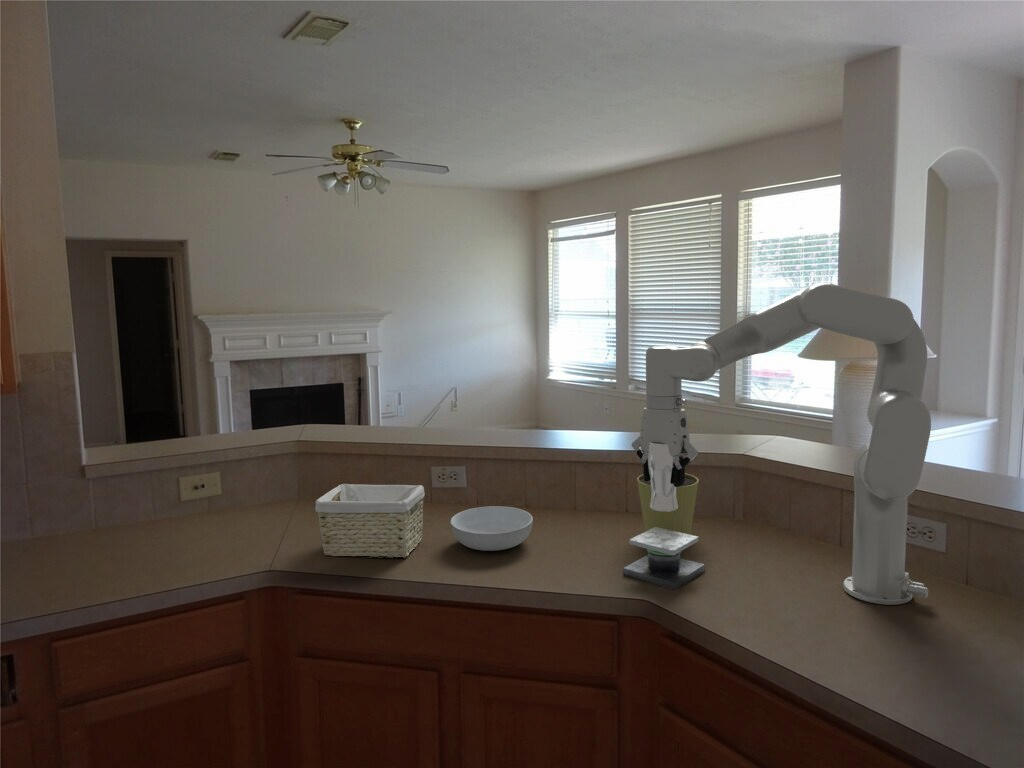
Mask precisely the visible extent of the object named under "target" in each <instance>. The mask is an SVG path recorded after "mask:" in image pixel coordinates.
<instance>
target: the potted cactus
mask: <svg viewBox="0 0 1024 768" xmlns="http://www.w3.org/2000/svg"><path fill="white" fill-rule="evenodd" d="M636 479H637V488H638V495H639V501H640V506H641V513H642V521H643V527H644V532H646V531H648V530H650V529H652V528H654V527H659V528H663V529H667V530H672V531H676V532H680V533H685V534H689V535H692V534H691V533H692V527H693V526H692V525H693V520H694V515H695V514H694V513H695V512H694V511H695V506H696V500H697V494H698V489H699V488H698V487H699V482H700V479H699V477H696V476H695V475H692V474H689V473H686V472H685V481H684V484H683V485H681V486H679V487H676V497H677V503H678V508H677V509H676V510H674V511H657V510H653V509H651V508H650V502H651V496H652V488H651V481H644V474H641V475H639V476H638V477H637V478H636Z"/></svg>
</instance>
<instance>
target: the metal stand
mask: <svg viewBox="0 0 1024 768" xmlns="http://www.w3.org/2000/svg"><path fill="white" fill-rule="evenodd" d="M699 541H700V540H699V536H696V535H692V534H690V535H689V534H685V533H680V532H676V531H672V530H667V529H663V528H659V527H654V528H652V529H650V530H648V531H646V532H645V531H644V532H642V533H640V534H638V535H636V536H634V537H632V538H630V539H629V541H628V543H629V545H631V546H636V547H640V548H643V549H646V551H647V555H644V556H643V557H641V558H640V559H637V560H635V561H633V562H632V563H630V564H627V565H626V566H625V567H623V568H622V571H623V573H622V574H625V575H624V576H627V575H628V577H630V576H631V578H634V579H637V578H638V580H640V579H641V581H644V580H645V581H644V582H647V583H650V582H651V584H655V585H657V584H658V585H657V586H661V587H665V588H668V589H672V590H674V591H675V590H677V589H678V588H680V587H682V586H683V585H684V584H686V583H688V582H689V581H691V580H693V579H694V578H696V577H697V576H699V575H700V574H702V573H703V572H706V568H705V566H706V565H705V564H704V563H701V562H697V561H693V560H689V559H685V558H682V557H681V553H682V551H684V550H685V549H687V548H689V547H690V546H691V547H692V545H694V544H696V543H698V542H699Z"/></svg>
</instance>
